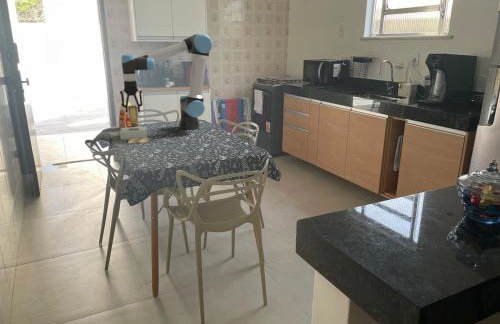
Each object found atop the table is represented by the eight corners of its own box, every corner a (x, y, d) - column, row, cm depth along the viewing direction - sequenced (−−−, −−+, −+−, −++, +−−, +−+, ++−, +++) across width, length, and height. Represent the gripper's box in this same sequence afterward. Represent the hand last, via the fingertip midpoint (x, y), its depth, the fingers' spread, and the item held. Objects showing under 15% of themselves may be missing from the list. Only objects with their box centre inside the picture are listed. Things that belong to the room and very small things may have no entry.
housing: (146, 134, 256) (146, 126, 255) (146, 138, 245) (146, 130, 243) (121, 135, 252) (121, 128, 251) (120, 139, 241) (120, 132, 240)
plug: (138, 125, 250) (136, 105, 245) (138, 126, 245) (136, 106, 241) (130, 125, 248) (128, 105, 244) (130, 127, 244) (128, 106, 240)
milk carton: (126, 130, 265) (123, 102, 259) (118, 128, 271) (115, 100, 264) (137, 128, 272) (134, 100, 266) (129, 126, 277) (126, 99, 271)
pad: (148, 138, 244) (148, 137, 244) (148, 142, 235) (148, 141, 235) (128, 139, 241) (128, 138, 241) (128, 143, 232) (128, 142, 232)
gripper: (144, 79, 243) (148, 115, 250) (115, 80, 239) (119, 116, 246) (144, 80, 236) (148, 117, 244) (114, 81, 232) (118, 119, 239)
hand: (133, 117), depth 245 cm, fingers closed on plug, 5 cm apart
